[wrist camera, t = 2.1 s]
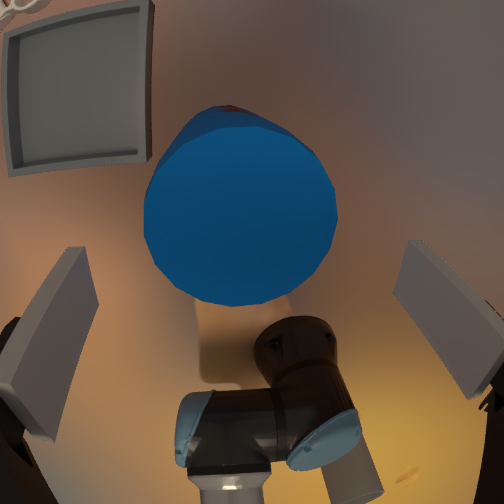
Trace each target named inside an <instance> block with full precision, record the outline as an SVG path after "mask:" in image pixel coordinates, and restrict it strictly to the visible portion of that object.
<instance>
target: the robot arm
mask: <svg viewBox="0 0 504 504" xmlns="http://www.w3.org/2000/svg"><path fill="white" fill-rule="evenodd" d="M393 293H394V295H395V296H396V297H397V299H398V300H399V301H400V303H401V304H402V305H403V307H404V308H405V310H406V311H407V312H408V314H409V315H410V316H411V318H412V319H413V320H414V322H415V323H416V324H417V326H418V327H419V329H420V330H421V331H422V333H423V334H424V336H425V337H426V339H427V340H428V341H429V343H430V344H431V345H432V347H433V349H434V350H435V351H436V353H437V354H438V356H439V357H440V359H441V360H442V361H443V363H444V365H445V366H446V367H447V369H448V371H449V372H450V374H451V375H452V376H453V378H454V380H455V381H456V383H457V384H458V386H459V387H460V389H461V390H462V392H463V394H464V395H465V397H466V399H467V400H470V399H472V398H475V397H477V396H479V395H481V394H482V393H483V391H484V390H485V388H486V387H487V386H488V385H489V383H490V384H491V386H492V387H493V389H492V390H491V391H490V393H489V394H488V395H487V397H486V398H485V399H484V400H483V402H482V403H481V404H480V406H479V410H481V409H482V408H483V406H484V405H485V404H486V403H488V406H487V407H486V408H485V409H484V411H486V412H488V414H487V425H486V435H485V444H484V451H483V458H482V464H481V470H480V475H479V481H478V485H477V490H476V494H475V499H474V503H473V504H504V319H503V318H501V316H500V315H499V314H498V313H497V312H495V309H494V308H493V307H492V306H491V305H490V304H489V303H488V302H487V301H486V300H484V299H483V298H482V297H481V296H480V295H479V294H478V293H477V292H476V291H475V290H474V289H473V288H472V287H471V286H470V285H469V284H468V283H467V282H466V281H465V280H464V279H463V278H462V277H461V276H460V275H459V274H458V273H457V272H456V271H455V270H453V268H451V267H450V266H449V265H448V264H447V263H446V262H445V261H444V260H443V259H442V258H441V257H440V256H439V255H438V254H436V253H435V252H434V251H433V250H432V249H431V248H430V247H429V246H428V245H426V244H425V243H424V242H423V241H422V240H411V241H410V240H409V241H408V245H407V248H406V252H405V256H404V259H403V262H402V266H401V269H400V272H399V276H398V280H397V282H396V285H395V288H394V291H393ZM98 306H99V303H98V299H97V295H96V292H95V288H94V284H93V280H92V276H91V272H90V267H89V263H88V259H87V254H86V249H85V247H84V246H83V247H82V246H81V247H68V248H67V249H66V250H65V252H64V253H63V254H62V256H61V257H60V258H59V260H58V261H57V263H56V264H55V266H54V267H53V268H52V270H51V271H50V273H49V274H48V276H47V277H46V279H45V280H44V282H43V283H42V285H41V286H40V288H39V289H38V291H37V293H36V294H35V296H34V297H33V299H32V300H31V302H30V304H29V305H28V307H27V308H26V310H25V312H24V313H23V315H22V317H15V318H14V319H13V320H12V321H10V322H9V323H8V324H7V325H6V326H5V327H4V329H3V331H2V332H1V334H0V504H58V502H57V500H56V498H55V497H54V495H53V493H52V491H51V490H50V488H49V486H48V484H47V482H46V481H45V479H44V477H43V475H42V473H41V471H40V469H39V467H38V465H37V463H36V461H35V459H34V457H33V455H32V453H31V451H30V448H29V446H28V444H27V442H26V441H25V439H24V438H23V434H24V430H25V428H26V429H27V431H28V432H29V433H30V434H31V435H32V436H33V438H35V439H40V440H44V441H48V442H53V443H55V440H56V436H57V432H58V428H59V424H60V420H61V416H62V413H63V409H64V406H65V402H66V399H67V395H68V392H69V388H70V385H71V382H72V379H73V376H74V373H75V370H76V366H77V363H78V360H79V357H80V354H81V352H82V349H83V346H84V343H85V340H86V338H87V335H88V332H89V329H90V327H91V324H92V321H93V319H94V316H95V314H96V311H97V309H98ZM254 357H255V362H256V366H257V368H258V370H259V371H260V373H261V374H262V375H263V377H264V378H265V380H266V381H267V383H268V384H269V386H270V387H271V388H263V389H248V390H230V391H216V390H211V391H207V392H192V393H189V394H187V395H186V396H185V397H184V398H183V399H182V401H181V403H180V406H179V410H178V415H177V421H176V429H175V461H176V464H177V465H178V466H181V467H182V468H186V467H187V476H188V479H189V480H190V481H191V482H193V483H194V484H195V485H196V486H197V487H198V488H199V490H200V500H201V504H264V498H263V490H262V485H263V484H264V482H265V481H266V480H267V479H268V478H269V476H270V475H271V474H272V473H271V464H270V463H271V462H277V461H286V464H287V465H288V466H289V468H290V469H292V470H294V471H298V470H300V471H307V470H312V469H316V468H319V467H322V466H325V465H327V464H329V463H332V462H334V461H336V460H337V459H339V458H341V457H342V456H344V455H346V454H347V453H348V452H350V451H351V450H352V449H353V448H354V447H355V446H356V445H357V444H358V442H359V441H360V439H361V436H362V427H361V424H360V420H359V417H358V411H357V409H355V407H354V404H353V402H352V400H351V397H350V395H349V392H348V390H347V388H346V385H345V383H344V381H343V379H342V376H341V374H340V372H339V369H338V366H337V340H336V337H335V335H334V332H333V330H332V328H331V327H330V325H328V323H327V322H325V321H324V320H322V319H320V318H317V317H313V316H295V317H290V318H286V319H283V320H281V321H279V322H277V323H275V324H273V325H271V326H270V327H268V328H267V329H266V330H265V331H264V332H263V333H262V334H261V335H260V336H259V338H258V339H257V341H256V343H255V346H254Z"/></svg>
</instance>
